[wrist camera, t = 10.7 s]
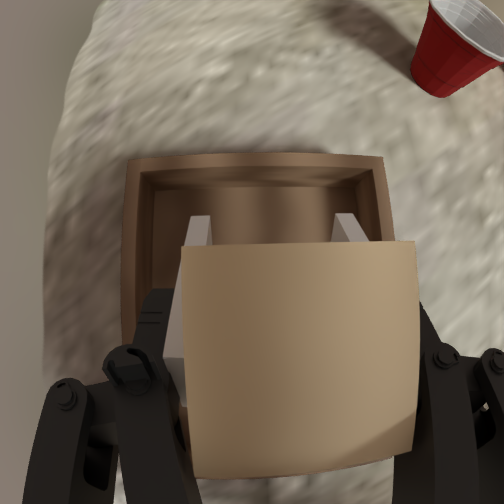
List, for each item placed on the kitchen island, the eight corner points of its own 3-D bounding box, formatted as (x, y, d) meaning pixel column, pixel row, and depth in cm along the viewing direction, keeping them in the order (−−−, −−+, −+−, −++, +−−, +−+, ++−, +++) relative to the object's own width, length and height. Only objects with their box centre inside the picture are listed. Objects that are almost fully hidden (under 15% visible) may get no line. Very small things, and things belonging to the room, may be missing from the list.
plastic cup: (371, 53, 28) (408, -23, 16) (426, 43, 29) (464, -15, 17) (430, 127, 27) (494, 62, 15) (478, 107, 28) (532, 57, 16)
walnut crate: (359, 181, 26) (382, 157, 21) (368, 434, 22) (391, 458, 17) (147, 184, 25) (128, 159, 20) (155, 445, 22) (138, 473, 17)
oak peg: (315, 277, 16) (414, 240, 6) (317, 371, 15) (411, 450, 6) (218, 280, 16) (181, 245, 6) (221, 376, 15) (194, 476, 5)
